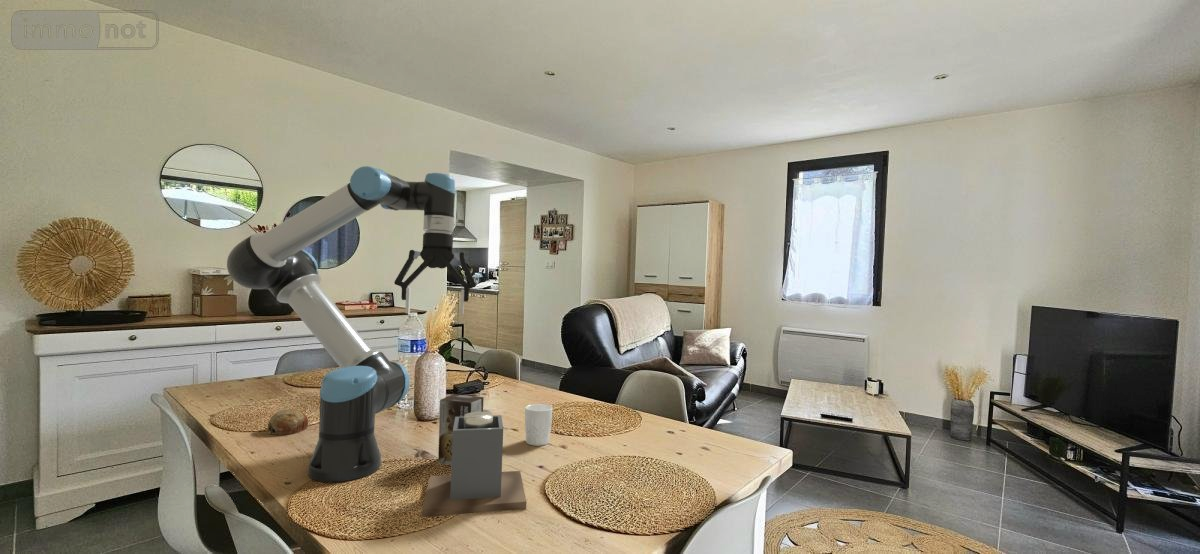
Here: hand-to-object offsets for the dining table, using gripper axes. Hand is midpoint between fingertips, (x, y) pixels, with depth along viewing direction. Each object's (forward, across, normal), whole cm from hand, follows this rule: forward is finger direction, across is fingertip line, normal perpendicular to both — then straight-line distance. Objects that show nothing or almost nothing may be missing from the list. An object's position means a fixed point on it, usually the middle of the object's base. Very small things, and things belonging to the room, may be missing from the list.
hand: (435, 313), depth 125 cm
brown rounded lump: (+37, -42, +26) cm, 62 cm away
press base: (+37, +12, -27) cm, 47 cm away
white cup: (+37, +29, +5) cm, 47 cm away
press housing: (+35, +12, -27) cm, 46 cm away
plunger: (+35, +12, -27) cm, 46 cm away
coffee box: (+37, +8, -7) cm, 38 cm away
